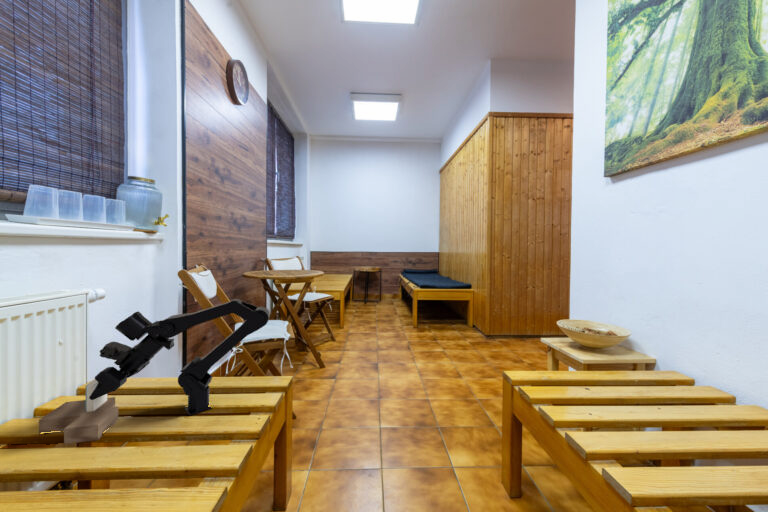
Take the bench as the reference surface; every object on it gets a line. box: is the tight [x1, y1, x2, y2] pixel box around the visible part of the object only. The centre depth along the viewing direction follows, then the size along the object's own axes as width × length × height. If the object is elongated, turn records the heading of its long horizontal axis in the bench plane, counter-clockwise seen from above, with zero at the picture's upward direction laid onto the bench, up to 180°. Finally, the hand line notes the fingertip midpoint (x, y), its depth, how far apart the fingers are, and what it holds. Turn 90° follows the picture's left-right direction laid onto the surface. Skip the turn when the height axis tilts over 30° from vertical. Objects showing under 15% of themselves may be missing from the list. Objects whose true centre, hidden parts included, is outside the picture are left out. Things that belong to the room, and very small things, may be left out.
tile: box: [85, 379, 108, 412], centre depth 88 cm, size 2×6×8 cm, turn 17°
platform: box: [38, 396, 119, 445], centre depth 84 cm, size 16×16×4 cm
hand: (100, 391), depth 88 cm, fingers open, 9 cm apart
